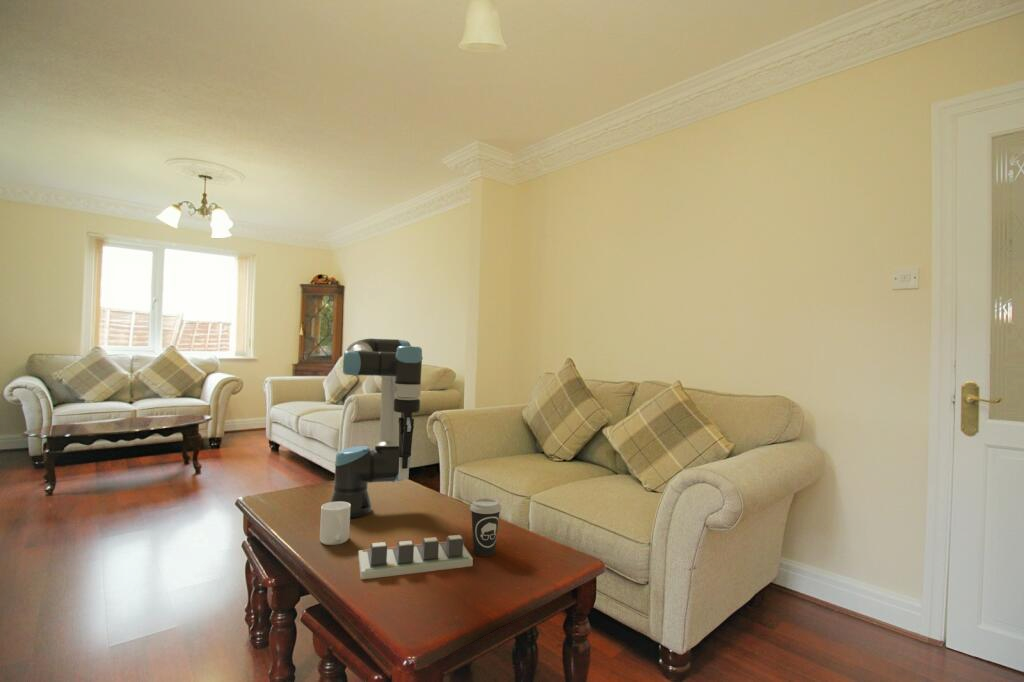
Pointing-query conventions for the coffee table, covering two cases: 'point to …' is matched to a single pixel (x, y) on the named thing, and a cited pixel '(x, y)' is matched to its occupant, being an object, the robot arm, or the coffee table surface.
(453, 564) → the panel
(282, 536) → the coffee table surface
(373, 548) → the block
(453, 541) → the block
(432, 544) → the block
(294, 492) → the coffee table surface
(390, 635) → the coffee table surface
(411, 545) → the block
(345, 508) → the mug
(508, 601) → the coffee table surface
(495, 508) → the coffee cup
